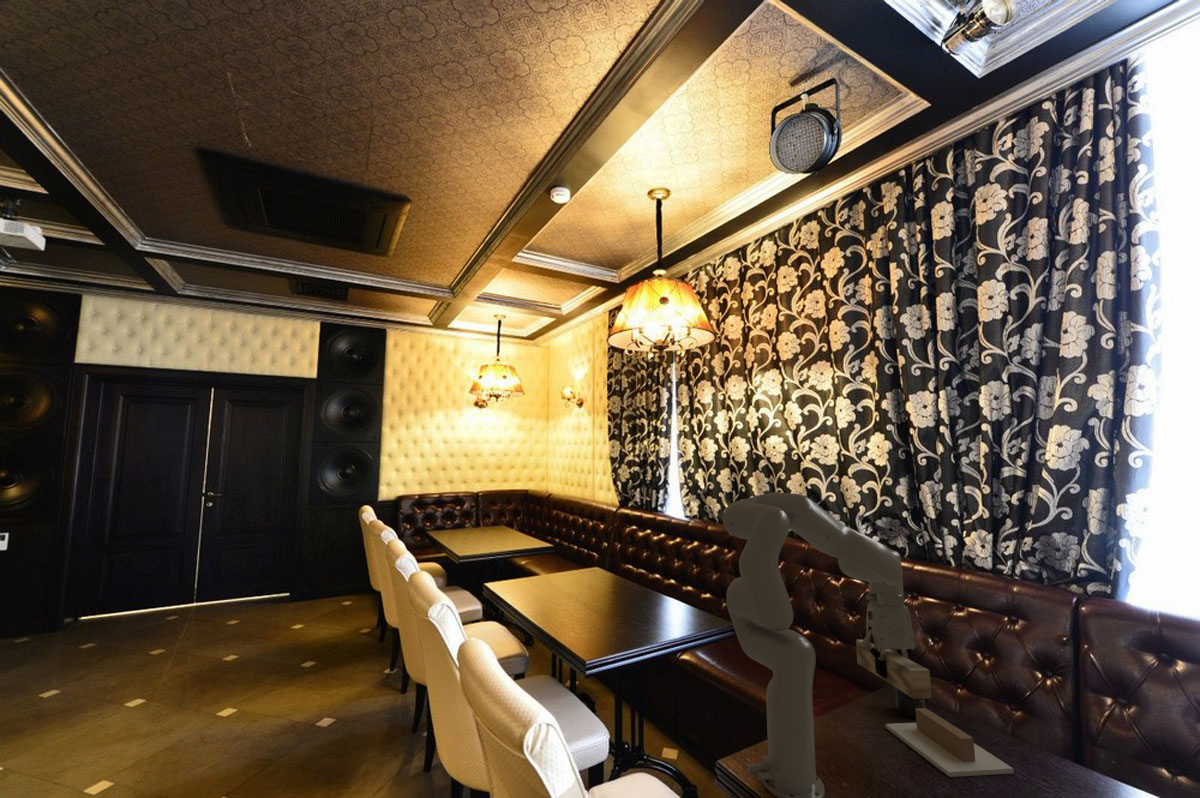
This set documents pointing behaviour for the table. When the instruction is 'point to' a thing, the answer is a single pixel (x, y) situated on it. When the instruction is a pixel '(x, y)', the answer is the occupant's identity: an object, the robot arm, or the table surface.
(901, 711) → the supplement bottle
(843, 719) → the table surface
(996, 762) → the board
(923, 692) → the birch beam
